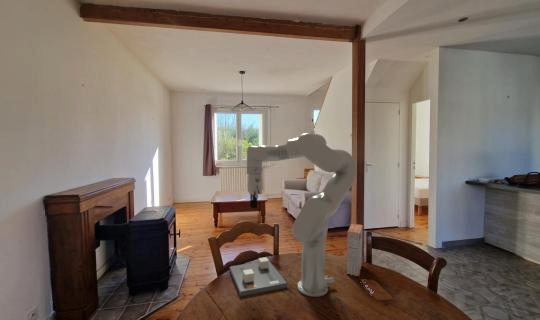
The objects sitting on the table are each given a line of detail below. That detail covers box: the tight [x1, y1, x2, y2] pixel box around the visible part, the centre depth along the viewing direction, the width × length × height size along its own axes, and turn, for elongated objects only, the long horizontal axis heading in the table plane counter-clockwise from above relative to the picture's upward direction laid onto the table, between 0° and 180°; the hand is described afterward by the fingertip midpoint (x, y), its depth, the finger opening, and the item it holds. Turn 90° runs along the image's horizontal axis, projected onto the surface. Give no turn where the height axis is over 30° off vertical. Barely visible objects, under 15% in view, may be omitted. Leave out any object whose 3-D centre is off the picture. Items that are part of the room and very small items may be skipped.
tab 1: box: [243, 269, 254, 283], centre depth 104 cm, size 4×4×4 cm
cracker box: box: [346, 223, 364, 277], centre depth 120 cm, size 14×6×21 cm, turn 154°
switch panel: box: [229, 260, 288, 297], centre depth 110 cm, size 20×22×2 cm
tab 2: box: [257, 256, 270, 269], centre depth 116 cm, size 4×4×4 cm
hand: (253, 207), depth 122 cm, fingers closed
